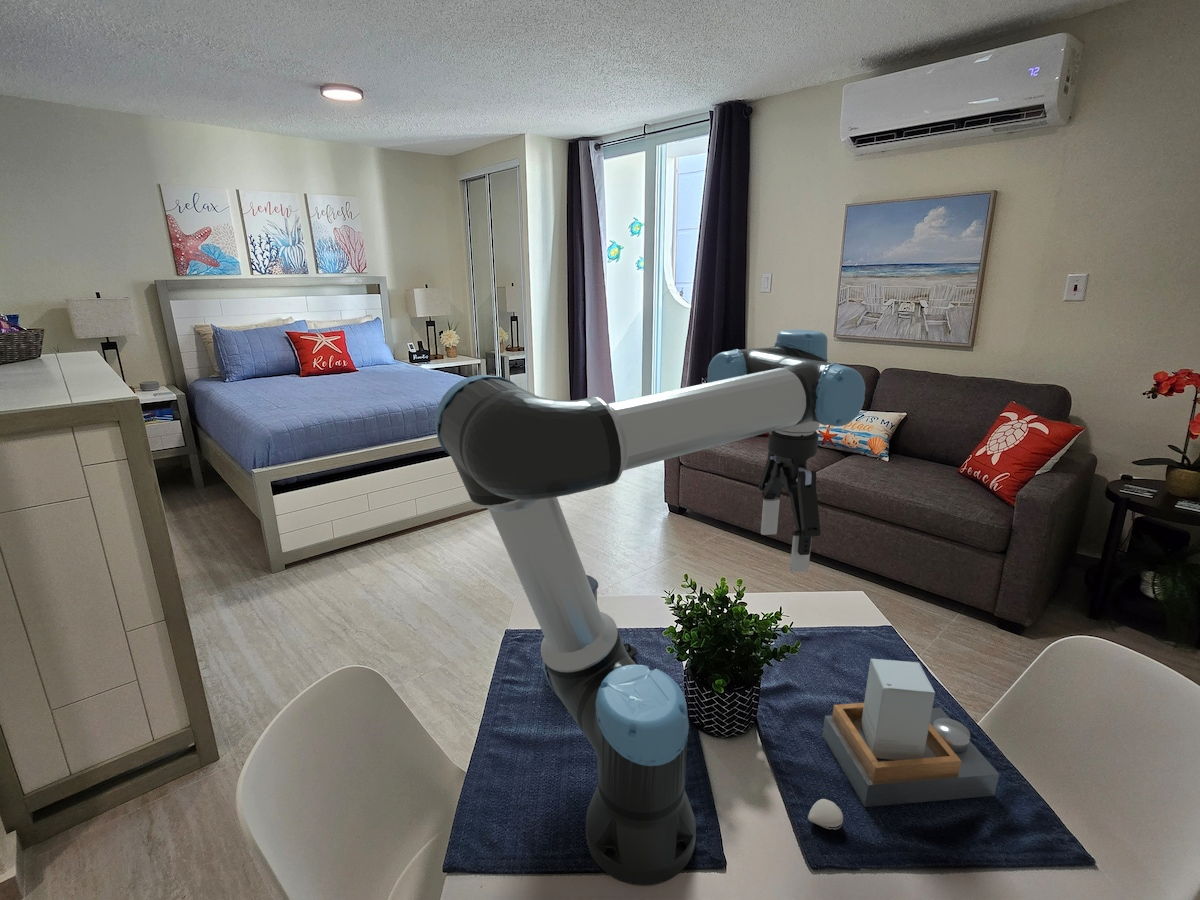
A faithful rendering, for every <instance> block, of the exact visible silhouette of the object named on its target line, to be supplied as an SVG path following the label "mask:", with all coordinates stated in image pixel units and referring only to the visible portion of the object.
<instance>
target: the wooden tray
mask: <svg viewBox="0 0 1200 900" xmlns="http://www.w3.org/2000/svg"><path fill="white" fill-rule="evenodd" d="M863 708H864V702H856V703H855V702H854V703H841V704H833V708H832V715H829V714H828V715H824V719H823V720H824V721H823V728H822V735H821V736H822V737H823V739H824V740H825V742H826V743H827V746H828V747H829V749H830V751H831V752H832V755H833V756H834V758H835V759H836V761H837V763H838V765H839V766H840V768H841V770H842V772H843V774H844V775H845V776H846V778H847V779H848V781H849V783H850V784H851V786H852V788H853V790H854V791H855V793H856V795H857V797H858V798H859V800H860V801H861V803H862V805H863V807H864V808H869V807H882V806H890V805H892V806H893V805H901V804H902V805H903V804H904V805H905V804H913V803H914V804H916V803H924V802H925V803H926V802H936V801H937V802H938V801H948V800H949V801H950V800H959V799H972V798H981V797H982V798H983V797H993V796H995V795H996V791H997V786H998V783H999V778H1000V773H999V772H998V770H996V768H995V767H994V766H993V765H992V764H991V763H990V761H988V759H987V758H986V757H985V756H984V755H983V754H982V753H981V751H979V749H978V748H977V747H976V746H975V744H974V743H972V741H971V740H970V739H971V732H970V730H969V729H968V727H966V726H965V725H964V724H963V723H962V722H961V721H960V722H959V721H958V720H955V719H952V718H951V717H949V715H948V714H947V713H946V712H945V711H944V710H943V709H942V707H939V706H938V707H932V713H931V718H930V724H929V729H928V735H927V740H926V746H925V752H924V757H923V758H920V759H908V760H890V759H881V758H875V756H874V755H873V753H872V752H871V750H870V749H869V746H868V743H867V741H866V738H865V735H864V732H863V729H862V726H861V721H862V714H863Z"/></svg>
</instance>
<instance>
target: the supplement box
mask: <svg viewBox="0 0 1200 900" xmlns="http://www.w3.org/2000/svg"><path fill="white" fill-rule="evenodd" d="M935 696H936V691H935V690H934V688H933V685H932V684H931V682H930V681H929V679H928V677H927V675H926V673H925V671H924V669H923V667H922V666H921V663H920V662H918V661H907V660H906V661H903V660H895V659H893V660H892V659H877V658H870V661H869V667H868V674H867V681H866V687H865V694H864V701H863V703H864V708H863V714H862V721H861V726H862V729H863V732H864V735H865V738H866V741H867V743H868V746H869V749H870V750H871V752H872V753H873V755H874V756H875V758H881V759H890V760H908V759H920V758H923V757H924V752H925V746H926V740H927V735H928V729H929V724H930V718H931V713H932V708H934V707H933V706H934V700H935Z"/></svg>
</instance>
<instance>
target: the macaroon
mask: <svg viewBox="0 0 1200 900" xmlns="http://www.w3.org/2000/svg"><path fill="white" fill-rule="evenodd" d="M807 819H808V821H809V822H811V823H813V824H816V825H818V826H820V827H822V828H825V829H827V830H830V831H831V829H833V830H832V831H834V830H835V831H836V830H838V829H840V828H842V826H843V822H844V815H843V811H842V810H841V809H840V807H839V806H837V804H836V803H835V802H834V801H832V800H829V799H826V798H821V799H819V800H817V801H816V802H815V803H814V804H813V805H812V807H811V808H810V810H809V812H808V815H807ZM839 825H841V826H840V827H839V828H829V827H837V826H839Z"/></svg>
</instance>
